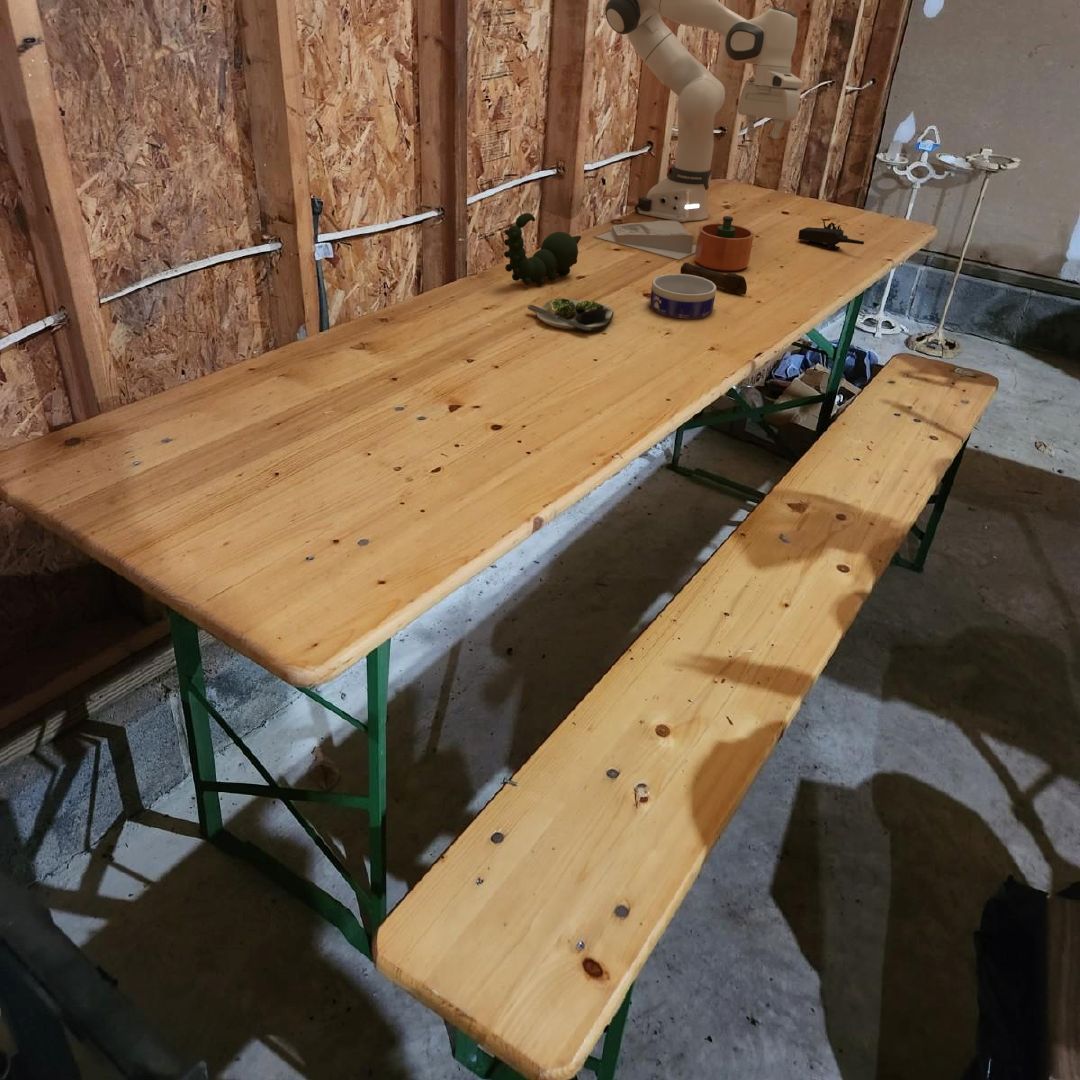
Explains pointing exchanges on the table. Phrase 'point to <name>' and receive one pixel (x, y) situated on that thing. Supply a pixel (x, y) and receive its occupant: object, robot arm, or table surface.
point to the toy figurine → (540, 254)
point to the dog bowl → (682, 296)
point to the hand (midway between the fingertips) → (761, 136)
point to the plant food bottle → (726, 228)
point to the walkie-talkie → (825, 237)
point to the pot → (723, 248)
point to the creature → (832, 225)
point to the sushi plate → (574, 315)
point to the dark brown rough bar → (718, 278)
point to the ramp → (654, 238)
